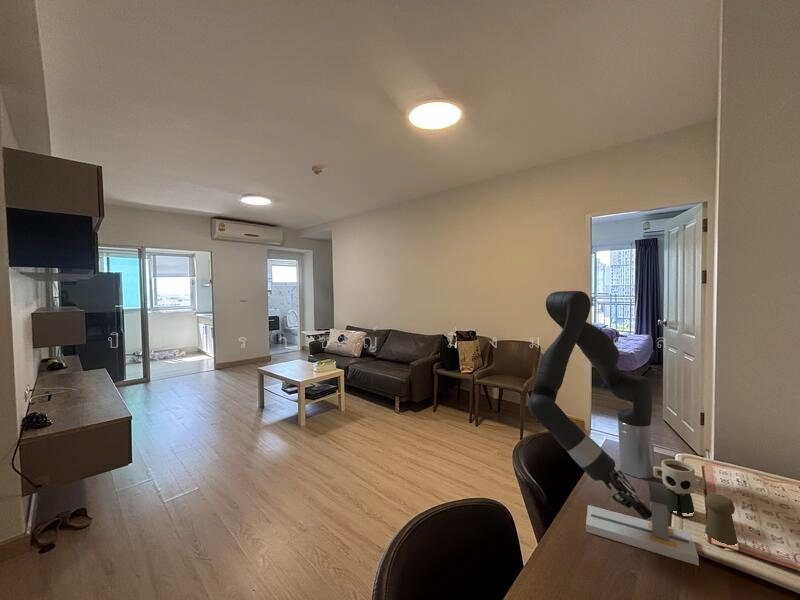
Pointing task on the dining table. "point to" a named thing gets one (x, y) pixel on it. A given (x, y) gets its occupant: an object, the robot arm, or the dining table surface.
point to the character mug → (679, 484)
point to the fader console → (641, 534)
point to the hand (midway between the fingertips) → (648, 516)
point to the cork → (720, 519)
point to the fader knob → (659, 509)
